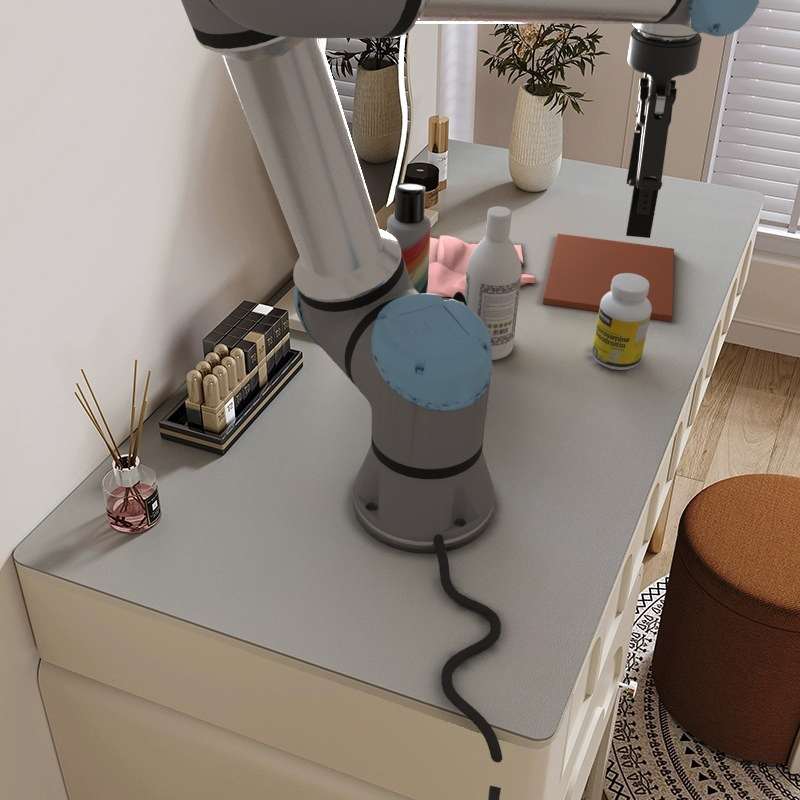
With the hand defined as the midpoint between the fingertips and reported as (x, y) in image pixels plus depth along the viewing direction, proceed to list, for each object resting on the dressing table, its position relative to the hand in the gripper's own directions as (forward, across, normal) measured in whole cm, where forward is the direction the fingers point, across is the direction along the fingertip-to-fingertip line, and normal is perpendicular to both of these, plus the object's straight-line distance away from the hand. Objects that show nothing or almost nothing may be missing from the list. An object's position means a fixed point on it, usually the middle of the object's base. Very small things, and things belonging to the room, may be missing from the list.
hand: (637, 208), depth 124 cm
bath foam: (+21, -2, +17) cm, 27 cm away
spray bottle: (+21, +2, +29) cm, 35 cm away
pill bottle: (+21, -1, 0) cm, 21 cm away
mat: (+22, +20, +1) cm, 29 cm away
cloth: (+21, +18, +22) cm, 35 cm away
